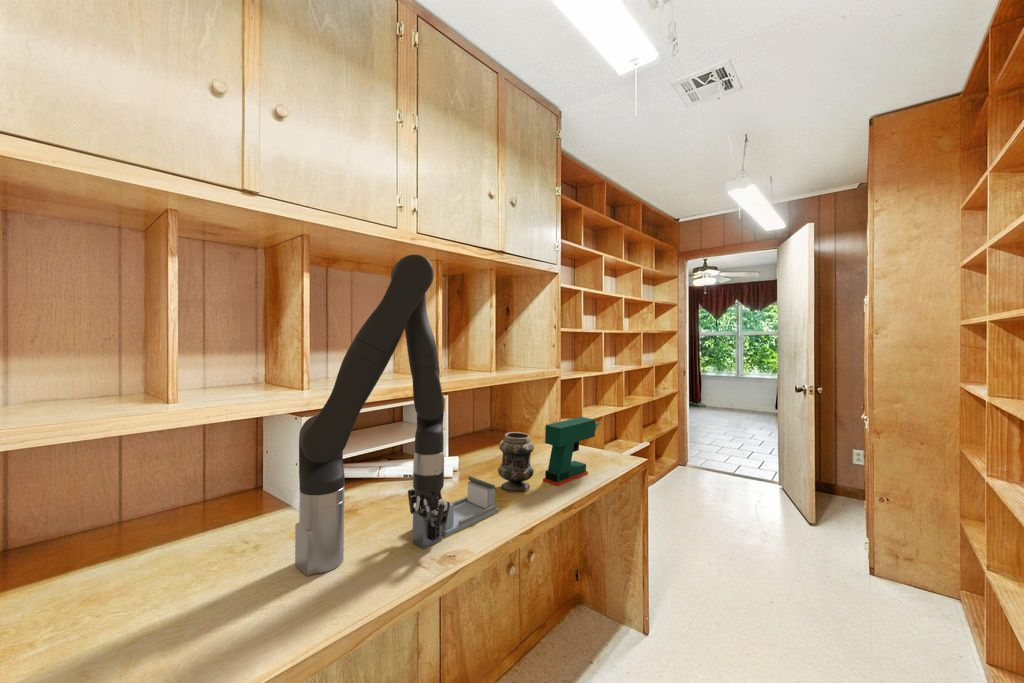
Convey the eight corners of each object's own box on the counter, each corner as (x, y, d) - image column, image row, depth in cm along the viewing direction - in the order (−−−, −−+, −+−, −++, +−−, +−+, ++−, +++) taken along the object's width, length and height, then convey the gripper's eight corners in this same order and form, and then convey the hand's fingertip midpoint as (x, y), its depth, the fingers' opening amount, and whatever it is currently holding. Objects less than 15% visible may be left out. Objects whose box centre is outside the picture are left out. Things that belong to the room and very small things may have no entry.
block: (441, 540, 108) (442, 509, 107) (422, 549, 103) (423, 517, 103) (431, 535, 110) (432, 504, 110) (412, 543, 106) (413, 512, 105)
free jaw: (489, 511, 122) (489, 486, 122) (465, 501, 129) (465, 477, 128) (496, 507, 125) (496, 483, 124) (472, 498, 131) (472, 475, 131)
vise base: (446, 536, 109) (447, 509, 109) (419, 523, 116) (420, 497, 116) (498, 511, 125) (499, 487, 124) (472, 501, 132) (472, 478, 132)
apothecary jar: (539, 485, 146) (540, 433, 145) (522, 497, 136) (524, 441, 135) (509, 478, 152) (510, 428, 151) (490, 489, 142) (492, 435, 141)
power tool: (592, 461, 174) (593, 413, 173) (607, 466, 169) (609, 416, 168) (541, 480, 151) (543, 425, 150) (557, 486, 146) (559, 428, 145)
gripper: (398, 465, 108) (397, 531, 108) (435, 480, 98) (434, 552, 99) (422, 459, 113) (421, 521, 114) (459, 472, 104) (458, 540, 105)
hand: (427, 535), depth 107 cm, fingers open, 5 cm apart
